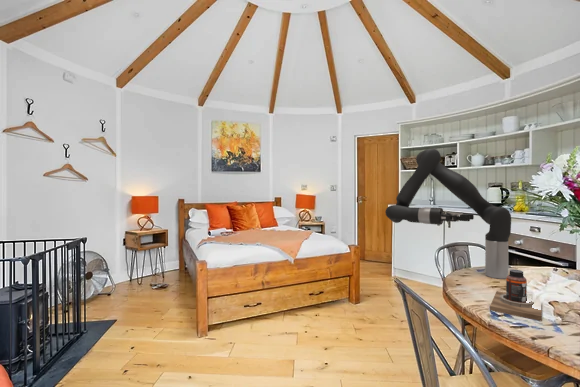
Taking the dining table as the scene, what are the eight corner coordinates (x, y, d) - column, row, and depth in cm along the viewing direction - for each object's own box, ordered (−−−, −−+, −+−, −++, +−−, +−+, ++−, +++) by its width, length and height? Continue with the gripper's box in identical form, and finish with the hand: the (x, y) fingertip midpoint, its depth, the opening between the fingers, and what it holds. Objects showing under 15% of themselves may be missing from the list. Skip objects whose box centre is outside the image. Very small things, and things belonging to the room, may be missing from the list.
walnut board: (496, 294, 124) (496, 287, 124) (541, 302, 115) (541, 295, 115) (489, 310, 108) (490, 302, 108) (541, 320, 100) (541, 312, 100)
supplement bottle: (530, 305, 108) (530, 273, 108) (511, 304, 110) (511, 272, 109) (521, 299, 114) (521, 268, 114) (503, 298, 115) (503, 268, 115)
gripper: (426, 208, 135) (468, 209, 125) (435, 206, 146) (474, 207, 136) (426, 225, 135) (468, 228, 125) (435, 222, 147) (474, 225, 136)
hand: (471, 217), depth 131 cm, fingers open, 8 cm apart
